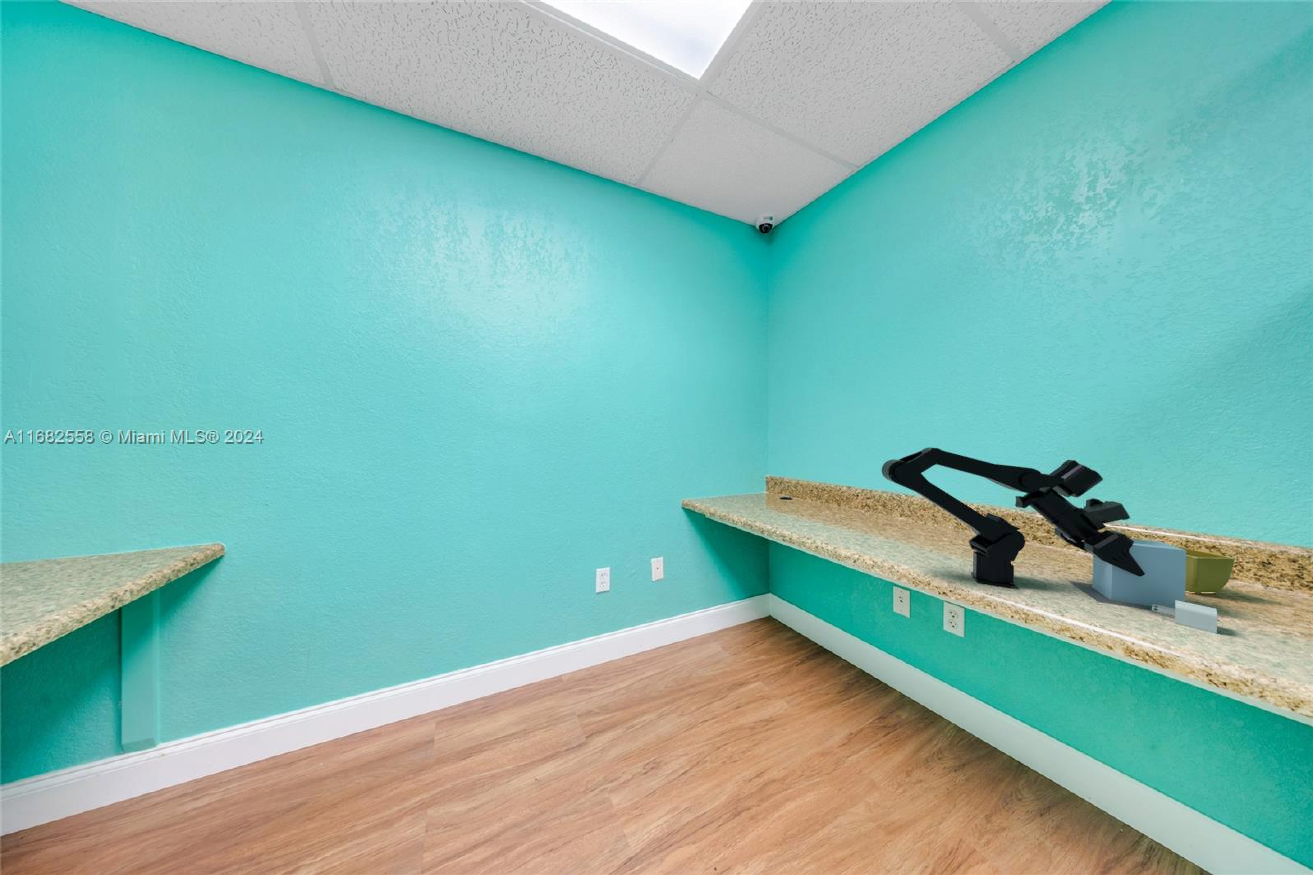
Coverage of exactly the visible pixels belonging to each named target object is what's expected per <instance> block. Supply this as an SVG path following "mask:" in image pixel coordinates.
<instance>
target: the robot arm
mask: <svg viewBox="0 0 1313 875" xmlns="http://www.w3.org/2000/svg"><path fill="white" fill-rule="evenodd" d="M935 465H936V466H940V467H944V468H947V469H952V470H955V471H959V472H962V473H967V474H970V475H974V476H978V477H981V478H984V479H986V480H989V481H991V482H992V483H994V484H996V485H999V486H1000V487H1002V488H1005V489H1008V490H1010V491H1017V492H1021V493H1026V494H1024V495H1023V496H1021V495H1016V496H1015V504H1014V506H1015V507H1016V508H1018V509H1026V508H1029V507H1030V508H1032V509H1033V510H1034V511H1035V512H1037V513H1038V514H1039V515H1040V516H1042V517H1043V518H1044V519H1045V521H1046V522H1047V523H1048V524H1049V525H1051V526H1053V527H1054V532H1053V534H1054V535H1056V537H1058V538H1059V539H1060V540H1061V541H1064V542H1066V543H1067V544H1069V545H1071V546H1073V547H1075V548H1077V549H1080V550H1081V551H1085V552H1087V553H1088V554H1091V555H1092V556H1093V555H1094V556H1095V557H1096V558H1098V559H1100V560H1102V561H1104V562H1107V563H1109V564H1111V565H1114V566H1116V567H1118V568H1121V569H1123V570H1125V571H1128V572H1130V573H1132V574H1134V575H1137V576H1139V577H1141V576H1143V575H1145V573H1144V571H1143V570H1142V569H1141V567H1140V566H1139V565H1138V563H1137V562H1136V561H1135V559H1134V558H1133V557H1132V555H1131V554H1130V548H1131V547H1132V546H1133V543H1134V541H1133V540H1131V539H1132V538H1131V539H1130V537H1129V536H1128V535H1126V534H1125V533H1122V532H1119V531H1117V530H1111V529H1110V530H1109V529H1105V528H1107V525H1105V524H1109V523H1112V522H1118V521H1121V520H1122V521H1126V520H1127V521H1128V520H1129V519H1131V516H1130V515H1129V513H1128V511H1127V510H1126V508H1125V507H1124V505H1123V503H1121V502H1118V501H1117V502H1116V501H1113V500H1112V501H1108V500H1105V501H1104V502H1103V501H1102V500H1100V499H1098V498H1095V497H1094V498H1093V497H1092V498H1090V499H1086V500H1085V506H1083V508H1082V507H1077V506H1076V505H1075V504H1073V503H1071V502H1070V501H1069V500H1068V499H1067V498H1071V497H1074V498H1075V499H1076V498H1080V497H1082V496H1083V495H1084V494H1086V493H1087V492H1088V491H1090V490H1091V489H1093V488H1095V486H1097V485H1099V483H1102V481H1104V479H1103V476H1102V475H1101V474H1100V473H1098V472H1097V471H1096V470H1093V469H1091V468H1090V467H1088V466H1086V465H1084V464H1082V463H1079V462H1077V460H1075V459H1074V460H1073V459H1067V460H1065V461H1064V462H1063V463H1062V464H1061V465H1060V466H1059V467H1057V468H1056V469H1055V470H1053V471H1052V472H1051V473H1048V474H1047V473H1042V472H1041V471H1040V470H1038V469H1035V468H1032V467H1027V466H1016V465H1007V464H1001V463H1000V464H999V463H992V462H988V461H985V460H982V459H978V458H973V457H969V456H966V455H962V454H957V453H954V452H949V451H946V450H943V449H940V448H938V447H925V448H923V449H921V450H919V451H917V452H915V453H911V454H909V455H906V456H903V457H901V458H899V459H889V460H887V461H884V463H883V465H882V467H881V474H882V476H883V478H885V479H886V480H887V481H890V482H891V483H895V484H896V485H899V486H901V487H904V488H906V489H908V490H910V491H913V492H915V493H916V494H918V495H920V496H921V497H923V499H926V500H927V501H929V502H931V503H932V504H934V505H935V506H936V507H939V508H940V509H941V510H943V511H945V512H947V513H948V514H950V516H953V517H954V518H956V519H957V520H958V521H960V522H961V523H963V524H965V525H966V526H968V528H970V529H971V530H972V532H973V533H974V534H975V536H973V537H972V538H970V539H968V544H969V546H970V549H971V550H973V551H972V571H970V576H972V578H973V577H974V578H973V580H975V581H976V583H980V584H986V585H987V584H988V585H995V586H999V587H1000V586H1001V587H1006V588H1014V585H1013V584H1014V582H1015V579H1014V578H1015V577H1014V576H1015V566H1014V565H1013V563H1012V562H1015V561H1016V558H1017V556H1018V554H1019V552H1021V550H1023V549H1024V547H1025V546H1026V537H1025V535H1024V534H1023V533H1022V532H1021V531H1019V530H1020V529H1021V528H1020V527H1018V526H1015V525H1013V524H1011V523H1010V522H1008V520H1006V519H1005V518H1004V517H1002V516H999V515H996V514H993V513H990V512H987V514H986V515H983V514H982V513H980V512H978V511H977V510H975V509H973V508H972V507H970V506H969V505H967V504H965V503H964V502H962V501H961V500H959V499H957V498H956V497H954V496H952V494H950V493H948V492H946V491H945V490H943V489H941V488H939V487H938V486H937V485H935V484H933V483H932V482H930V481H929V480H928V479H927V478H926V477H925V476H924V475H923V474H922V473H924V472H926V471H927V470H929V469H930V468H932V467H934V466H935ZM1104 529H1105V530H1104ZM1101 530H1103V531H1101Z"/></svg>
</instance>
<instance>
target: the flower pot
mask: <svg viewBox="0 0 1313 875" xmlns="http://www.w3.org/2000/svg"><path fill="white" fill-rule="evenodd" d="M1177 547H1178V548H1181V549H1184V550H1186V578H1185V591H1189V592H1195V593H1201V592H1217V593H1218V592H1220V591H1221V590H1222V589H1223V588H1225V586H1226V585H1227V584H1228V582H1229V581H1230V578H1231V575H1232V572H1233V568H1234V565H1235V562H1236V558H1234V557H1230V556H1226V555H1223V554H1217V553H1212V552H1206V551H1202V550H1196V549H1192V548H1188V547H1182V546H1177Z"/></svg>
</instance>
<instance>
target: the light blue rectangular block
mask: <svg viewBox="0 0 1313 875" xmlns="http://www.w3.org/2000/svg"><path fill="white" fill-rule="evenodd" d="M1129 538H1130V537H1129ZM1130 539H1131V540H1133V541H1134V543H1133V546H1132V547H1131V548H1130V554H1131V555H1132V557H1133V558H1134V559H1135V561H1136V562H1137V563H1138V565H1139V566H1140V567H1141V569H1142V570H1143V571H1144V573H1145V575H1143V576H1141V577H1139V576H1137V575H1134V574H1132V573H1130V572H1128V571H1125V570H1123V569H1121V568H1118V567H1116V566H1114V565H1111V564H1109V563H1107V562H1104V561H1102V560H1100V559H1098V558H1096V557H1095V556H1094V555H1092V581H1091V582H1092V583H1091V584H1092V588H1094V589H1095V590H1097V591H1098V592H1100V593H1101V594H1103V595H1104V596H1106V597H1107V598H1109V599H1111V600H1115V601H1122V602H1128V603H1135V604H1141V605H1148V606H1153V604H1155V606H1154V607H1158V606H1156V605H1160V606H1165V607H1169V608H1173V609H1175V600H1178V601H1182V602H1186V592H1185V578H1186V550H1184V549H1181V548H1178V547H1179V546H1175V545H1171V544H1169V543H1166V542H1164V541H1159V540H1150V539H1149V540H1147V539H1141V538H1140V539H1139V538H1130Z"/></svg>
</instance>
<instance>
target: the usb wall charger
mask: <svg viewBox="0 0 1313 875" xmlns="http://www.w3.org/2000/svg"><path fill="white" fill-rule="evenodd" d="M1154 606H1155V604H1153V606H1152V610H1153V612H1157V613H1160V614H1165V615H1170V616H1174V624H1175V625H1179V626H1183V627H1187V628H1190V629H1196V630H1199V631H1203V632H1208V633H1210V634H1211V633H1212V634H1216V635H1217V632H1218V621H1217V619H1218V611H1217V608H1215V607H1214V608H1213V607H1209V606H1206V605H1201V604H1195V603H1190V602H1186V601H1185V602H1182V601H1178V600H1175V609H1173V608H1169V607H1165V606H1160V605H1156V606H1158V608H1156V607H1154ZM1154 608H1156V609H1158V610H1157V611H1156V610H1154ZM1152 610H1151V611H1152Z"/></svg>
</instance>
